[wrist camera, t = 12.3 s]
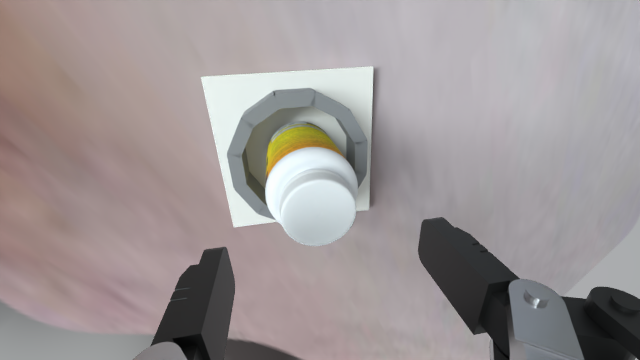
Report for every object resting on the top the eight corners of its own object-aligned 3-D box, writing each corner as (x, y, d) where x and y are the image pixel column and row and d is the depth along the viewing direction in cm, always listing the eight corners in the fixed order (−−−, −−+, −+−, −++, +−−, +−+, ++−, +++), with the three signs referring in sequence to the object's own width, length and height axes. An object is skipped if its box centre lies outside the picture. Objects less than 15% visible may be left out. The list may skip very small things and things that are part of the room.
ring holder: (203, 76, 20) (190, 78, 17) (370, 66, 22) (386, 67, 18) (234, 222, 25) (229, 245, 22) (366, 205, 27) (379, 224, 24)
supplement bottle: (254, 136, 21) (242, 192, 12) (317, 108, 21) (353, 144, 12) (283, 191, 24) (291, 273, 15) (340, 167, 24) (384, 234, 15)
